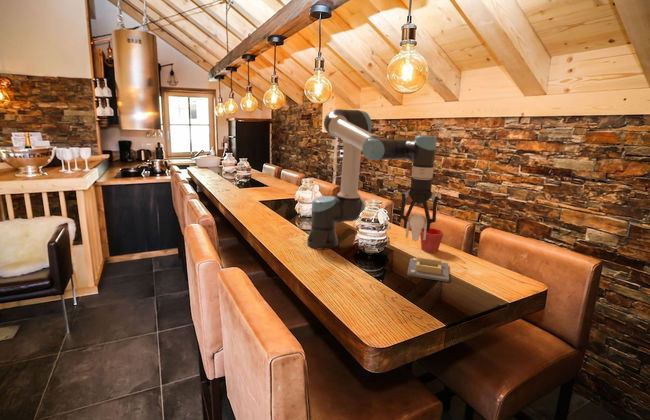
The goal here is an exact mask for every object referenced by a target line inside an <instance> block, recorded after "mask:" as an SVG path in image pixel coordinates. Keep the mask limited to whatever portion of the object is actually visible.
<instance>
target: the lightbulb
mask: <svg viewBox="0 0 650 420" xmlns="http://www.w3.org/2000/svg"><path fill="white" fill-rule="evenodd" d="M408 220H409V228H411V229H410V230H411V240H412V241H413V242H417V241H419V239H420V232H421V230H422V228H424V227H425V222H427V220H426V217H425V216H424V215H423V214H421V213H414V214H411V216H409V218H408Z"/></svg>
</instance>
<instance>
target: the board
mask: <svg viewBox="0 0 650 420" xmlns="http://www.w3.org/2000/svg"><path fill="white" fill-rule="evenodd" d="M449 271H450V270H449V262H442V259H437V258H430V257H429V258H428V257H421V256H417V257H416V258H415V257H413V258H411V257H410V259H409V263H408V268H407V274H406V275H407V277H414V278H420V279H427V280H434V281H438V282H439V281H440V282H447V283H450V273H449Z"/></svg>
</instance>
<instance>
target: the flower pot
mask: <svg viewBox="0 0 650 420" xmlns="http://www.w3.org/2000/svg"><path fill="white" fill-rule="evenodd" d="M423 236H424V227H423V228H422V230H421V232H420V235H419V239H420V247H421V250H422V251H424V252H427V253H437V252H438V251H439V249H440V245H441V243H442V239H443V236H444V231H443V230H440V229H437V228H434V227H430V230H429V232H428V231H426V238H425V240H423Z"/></svg>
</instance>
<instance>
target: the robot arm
mask: <svg viewBox="0 0 650 420" xmlns="http://www.w3.org/2000/svg"><path fill="white" fill-rule="evenodd" d="M372 125H373V123H372V120H371V116H370V115H369V113H368V112H366V111H365V110H358V109H356V110H355V109H341V108H336V109H333V110H331V111H330V112H328V113H327V114H326V116H325V117H324V120H323V127H324V130H325V131H326V133H327V134H328V135H330V136H332V137H334V138H340V139H341V141H342V142H343V150H342V151H343V152H342V164H341V179H340V191H339V192H337V195H336V196H333V195H331V196H330V195H328V196H326V195H324V196H319V197H316V198H314V199H313V200H312V202H311V221H310V222H311V225H310V226H311V227H310V230H309V234H308V236H307V243H306V244H307V245H308V246H309V247H310V246H311V248H313V247H315V248H314V249H317V248H323V249H322V250H329V249H334V248H336V247H337V246H338V244H339V240H338V236H337V233H336V232H337V231H336V223H344V222H345V223H346V222H354V221H357V219H358V218H359V215H360V213H361V212H362V211H363V210H364V211H365V203H364V200H363V198H361V194H360V193H359V183H360V182H359V181H360V168H361V156H362V155H363V156H364V158H365V159H367V160H370V161H371V160H372V161H379V160H382V161H383V160H407V161H408V160H409V161H412V169H411V177H412V178H411V179H410V189H409V190H408V191H407V192H405V191H403V192H401V199H402V200H401V205H400V206H401V207H400V211H399V219H400V220H403V229H405V238H408V237H409V231H410V224H409V218H410V215H411V212H412V210H413V208H414V205H415V204H418V203H419V204H422V205H423V210H424V215H425V221H426V222H425V225H424V227H423V228H424V236H423V240H425V238H426V231H428V232H429V230H430V228H431V224H432V223H436V220H437V208H438V207H437V206H438V205H437V203H438V200H440V199H439V197H440V196H439V195H435V194H433V192H432V185H433V179H432V178H434V176H433V175H434V167H435V166H434V165H435V159H436V158H435V157H436V152H437V151H436V150H437V137H436V136H434V135H421V134H420V135H419V134H418V135H416V136H415V138H414V139H406V138H395V139H393V138H392V139H390V138H389V139H388V138H381V137H379V136H377V135H376V134H373V133H371V131H372V127H373V126H372ZM408 196H409V197H410V199H411V203H410V205H409V207H408V209H407V212H406V215H405V208H406V203H407V198H408ZM430 198H431V200H432V201H433V202H432V203H433V204H432V217H431V214H430V210H429V205H428V201H429V200H430ZM358 220H359V219H358ZM325 248H327V249H325Z"/></svg>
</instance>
